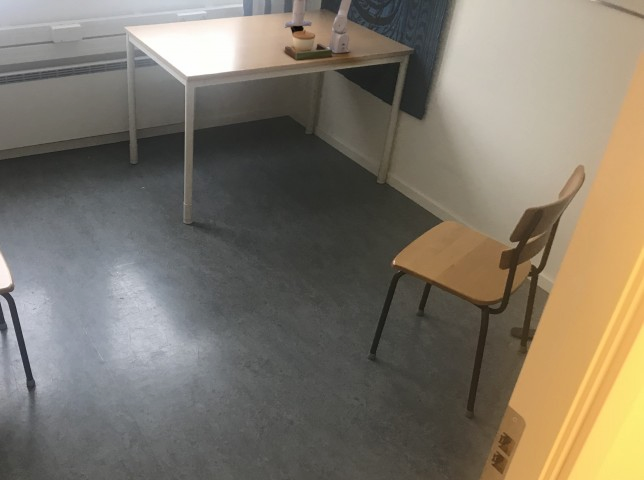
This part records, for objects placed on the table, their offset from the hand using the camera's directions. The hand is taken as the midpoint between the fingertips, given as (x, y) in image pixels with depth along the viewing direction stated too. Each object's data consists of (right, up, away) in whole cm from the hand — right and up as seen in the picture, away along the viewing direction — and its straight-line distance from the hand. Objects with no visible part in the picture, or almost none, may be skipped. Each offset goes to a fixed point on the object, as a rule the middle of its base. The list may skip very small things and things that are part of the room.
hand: (295, 41), depth 348 cm
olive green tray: (+5, -10, -9) cm, 14 cm away
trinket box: (+3, -6, -4) cm, 8 cm away
